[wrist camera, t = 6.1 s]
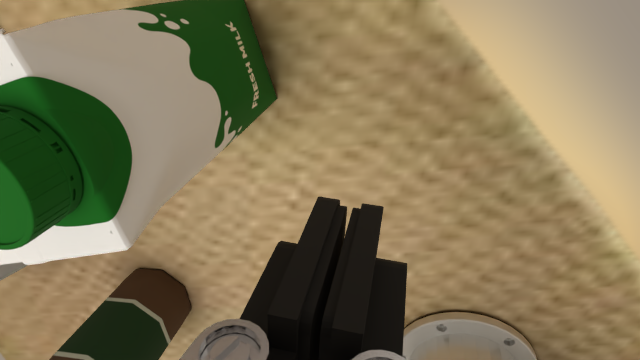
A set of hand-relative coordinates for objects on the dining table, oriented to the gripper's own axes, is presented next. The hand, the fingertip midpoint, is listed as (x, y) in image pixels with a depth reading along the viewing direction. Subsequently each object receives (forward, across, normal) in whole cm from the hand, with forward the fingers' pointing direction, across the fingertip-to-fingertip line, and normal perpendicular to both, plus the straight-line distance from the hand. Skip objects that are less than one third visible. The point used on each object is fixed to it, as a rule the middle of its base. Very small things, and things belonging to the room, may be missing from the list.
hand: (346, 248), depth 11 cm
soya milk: (+19, +13, +1) cm, 23 cm away
